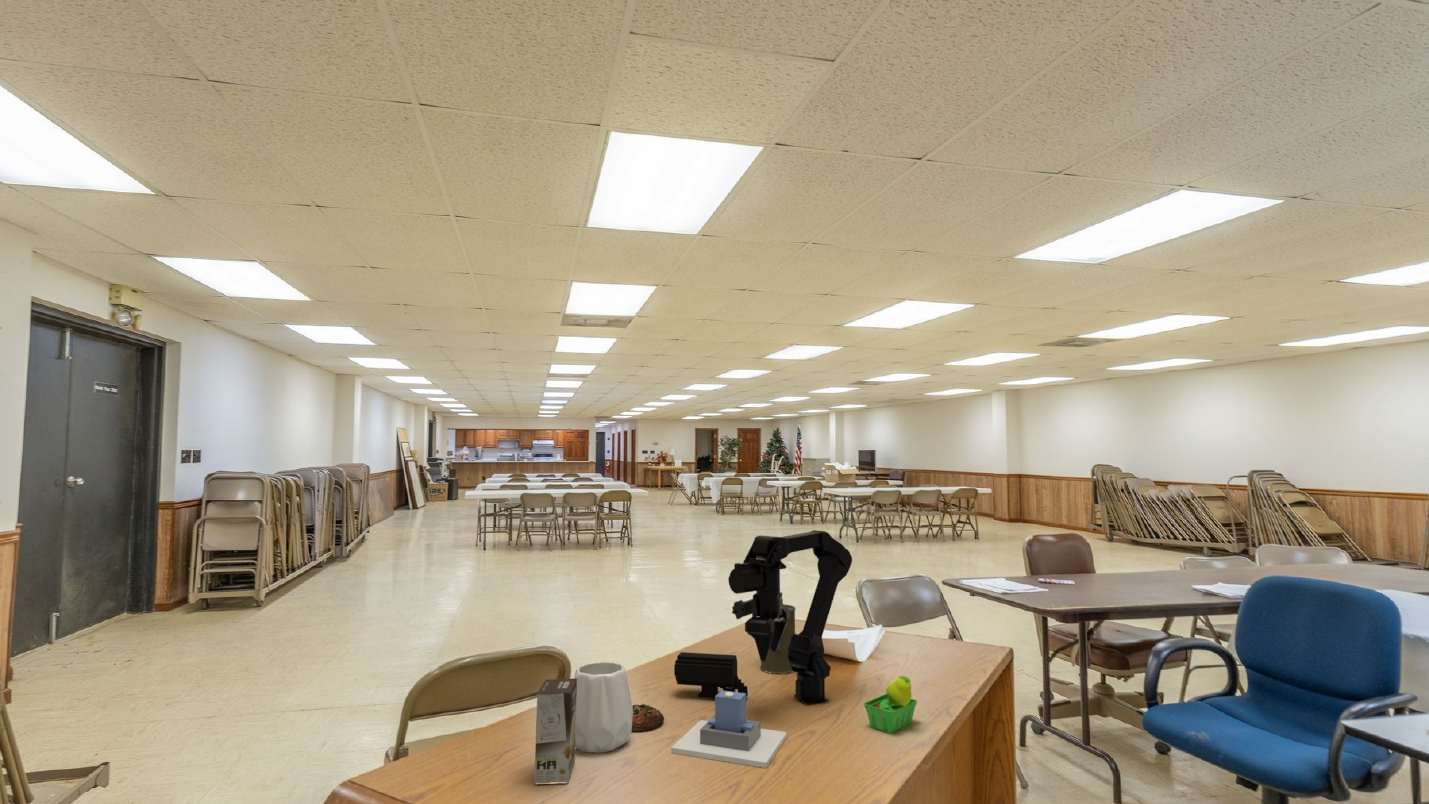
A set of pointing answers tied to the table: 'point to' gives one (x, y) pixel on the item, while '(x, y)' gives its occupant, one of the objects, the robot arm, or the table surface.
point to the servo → (730, 712)
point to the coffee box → (555, 730)
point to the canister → (781, 647)
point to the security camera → (708, 673)
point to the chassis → (731, 744)
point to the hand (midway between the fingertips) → (768, 656)
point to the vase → (602, 707)
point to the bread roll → (646, 718)
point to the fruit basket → (892, 707)
